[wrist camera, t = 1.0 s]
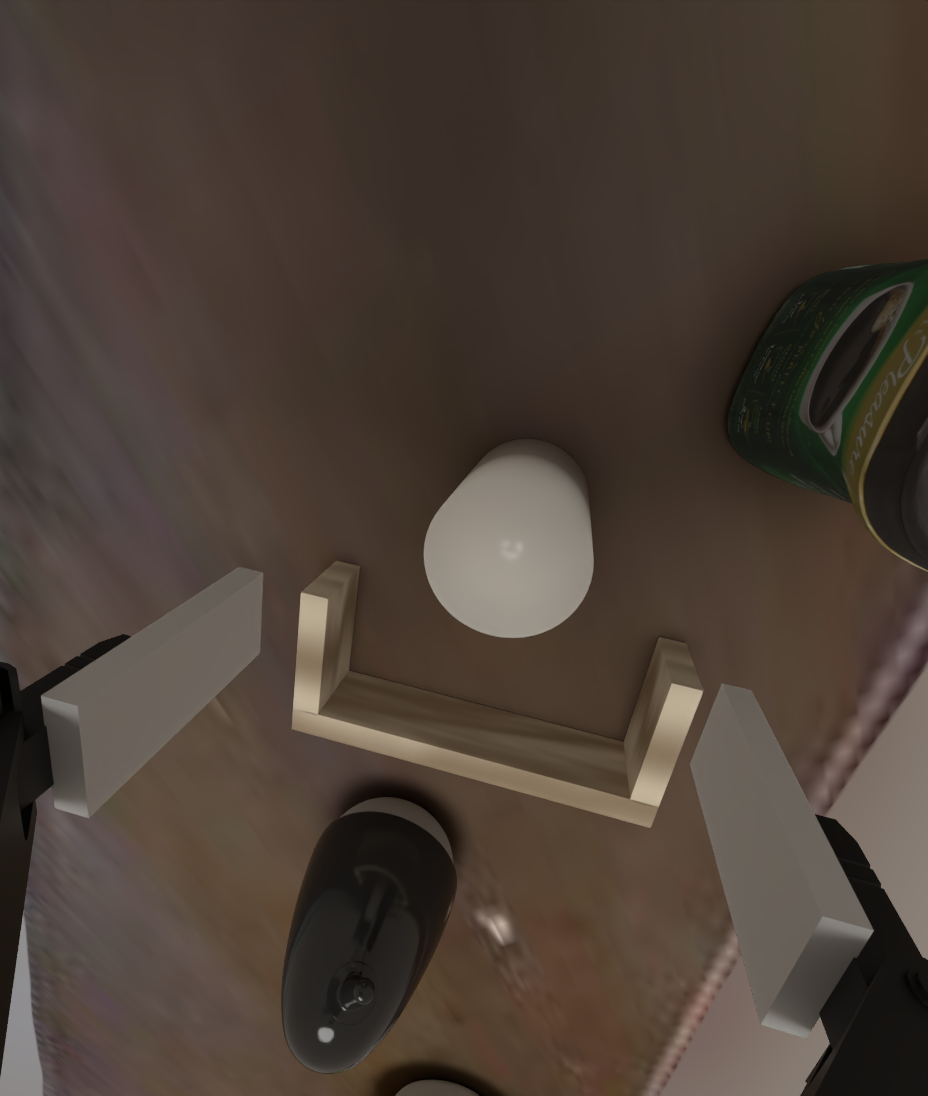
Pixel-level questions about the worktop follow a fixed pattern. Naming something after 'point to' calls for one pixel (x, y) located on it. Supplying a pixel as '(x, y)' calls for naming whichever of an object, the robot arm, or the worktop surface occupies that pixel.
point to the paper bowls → (435, 1089)
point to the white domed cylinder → (513, 542)
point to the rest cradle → (489, 719)
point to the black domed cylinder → (364, 930)
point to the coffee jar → (847, 398)
